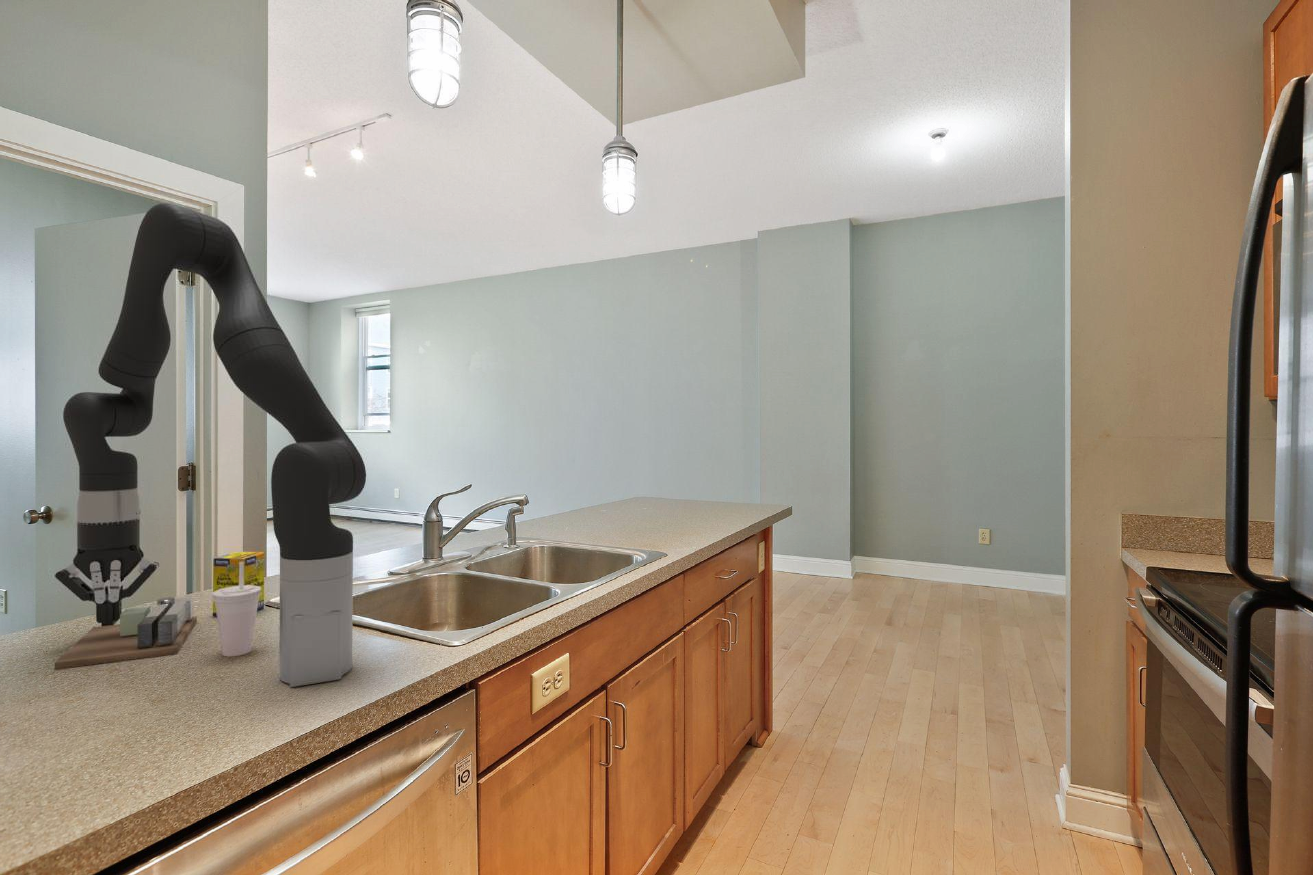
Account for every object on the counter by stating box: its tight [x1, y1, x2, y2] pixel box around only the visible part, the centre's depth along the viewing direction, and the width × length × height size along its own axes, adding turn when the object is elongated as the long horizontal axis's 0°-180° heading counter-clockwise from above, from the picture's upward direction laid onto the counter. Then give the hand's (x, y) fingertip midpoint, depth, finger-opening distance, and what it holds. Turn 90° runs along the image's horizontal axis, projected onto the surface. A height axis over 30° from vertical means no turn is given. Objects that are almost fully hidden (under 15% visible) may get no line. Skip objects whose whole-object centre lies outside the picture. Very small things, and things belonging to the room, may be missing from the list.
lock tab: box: [119, 605, 151, 636], centre depth 101 cm, size 4×3×4 cm
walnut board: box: [53, 615, 198, 671], centre depth 99 cm, size 17×14×1 cm
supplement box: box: [212, 551, 266, 618], centre depth 115 cm, size 6×6×11 cm
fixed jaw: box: [156, 596, 194, 646], centre depth 101 cm, size 15×5×4 cm, turn 28°
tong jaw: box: [138, 604, 169, 648], centre depth 99 cm, size 12×2×4 cm, turn 28°
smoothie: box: [211, 562, 262, 658], centre depth 96 cm, size 6×6×14 cm
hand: (109, 624), depth 99 cm, fingers closed
